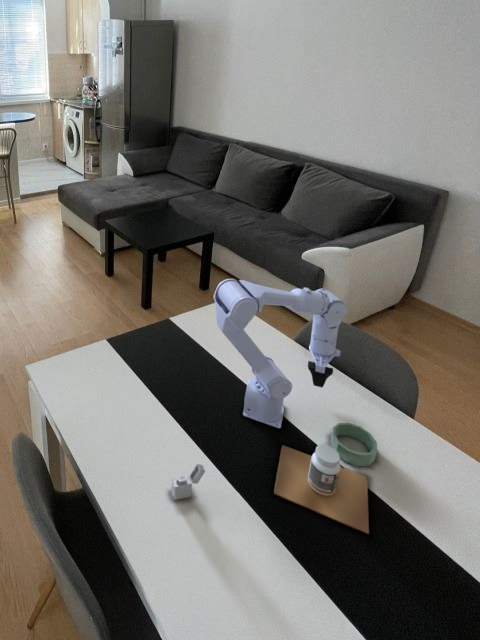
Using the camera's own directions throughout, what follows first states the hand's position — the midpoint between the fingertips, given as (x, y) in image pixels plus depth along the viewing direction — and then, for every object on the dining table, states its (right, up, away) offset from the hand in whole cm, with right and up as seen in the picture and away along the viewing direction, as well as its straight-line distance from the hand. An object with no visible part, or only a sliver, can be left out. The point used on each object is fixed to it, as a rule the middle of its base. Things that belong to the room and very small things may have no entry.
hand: (319, 375), depth 115 cm
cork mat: (-9, -19, -17) cm, 27 cm away
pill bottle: (-9, -18, -17) cm, 27 cm away
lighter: (-40, -21, -17) cm, 48 cm away
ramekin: (+3, -15, -9) cm, 17 cm away
